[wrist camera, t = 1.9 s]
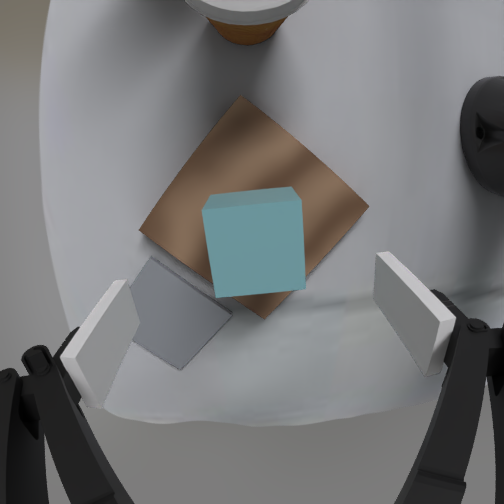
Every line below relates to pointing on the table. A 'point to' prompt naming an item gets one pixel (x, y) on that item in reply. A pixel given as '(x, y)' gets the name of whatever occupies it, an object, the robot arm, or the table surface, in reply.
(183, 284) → the mat
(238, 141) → the brown square board
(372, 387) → the table surface
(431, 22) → the table surface
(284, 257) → the teal matte cube
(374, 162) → the table surface
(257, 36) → the disposable coffee cup
